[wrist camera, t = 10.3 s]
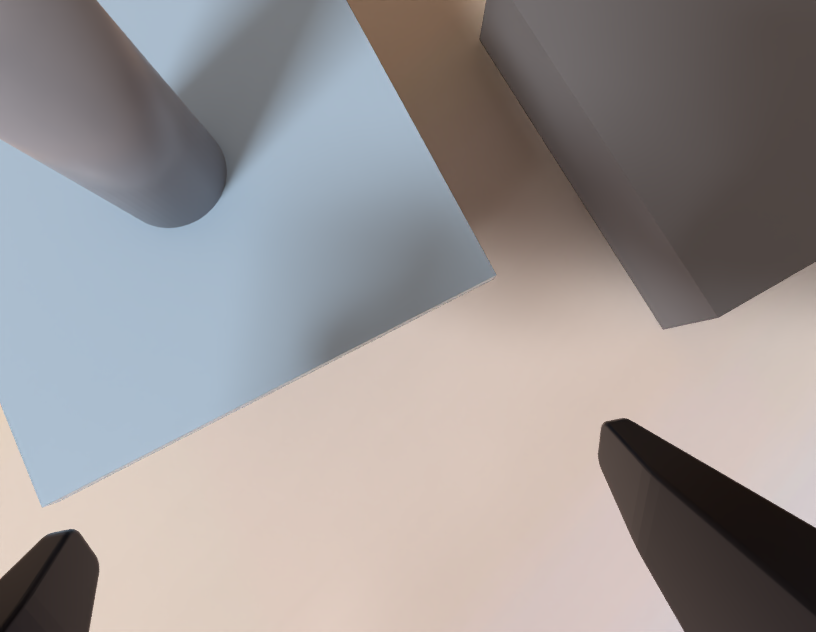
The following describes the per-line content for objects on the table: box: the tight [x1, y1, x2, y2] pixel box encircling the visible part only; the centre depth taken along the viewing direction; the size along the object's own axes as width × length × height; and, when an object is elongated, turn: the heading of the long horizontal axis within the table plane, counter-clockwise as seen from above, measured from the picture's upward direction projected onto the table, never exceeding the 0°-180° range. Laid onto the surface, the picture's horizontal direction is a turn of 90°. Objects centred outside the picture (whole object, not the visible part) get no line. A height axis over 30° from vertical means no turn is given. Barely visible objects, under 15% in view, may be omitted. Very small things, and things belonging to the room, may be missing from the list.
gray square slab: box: [480, 0, 816, 329], centre depth 21 cm, size 15×15×4 cm
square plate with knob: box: [0, 0, 496, 507], centre depth 11 cm, size 13×13×8 cm
